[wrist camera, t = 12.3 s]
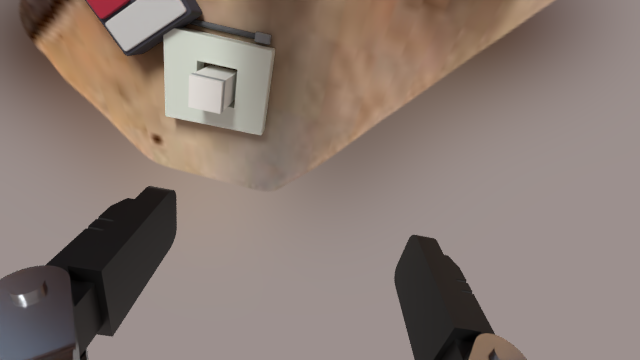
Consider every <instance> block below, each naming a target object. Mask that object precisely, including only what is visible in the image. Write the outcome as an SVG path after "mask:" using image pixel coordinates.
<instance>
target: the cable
mask: <svg viewBox="0 0 640 360" xmlns="http://www.w3.org/2000/svg"><path fill="white" fill-rule="evenodd" d="M189 24H192V25H197V26H201V27H205V28H210V29H214V30H218V31H223V32H227V33H231V34H235V35H240V36H244V37H248V38H253V39H255V42H259V43H263V44H268V45H270V42H271V35H270V34H265V33H261V32H256V33H251V32H247V31H243V30H239V29H234V28H230V27H226V26H221V25H217V24H213V23H209V22H204V21H200V20H196V19H195V20H194V21H192V22H190V23H189Z"/></svg>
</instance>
